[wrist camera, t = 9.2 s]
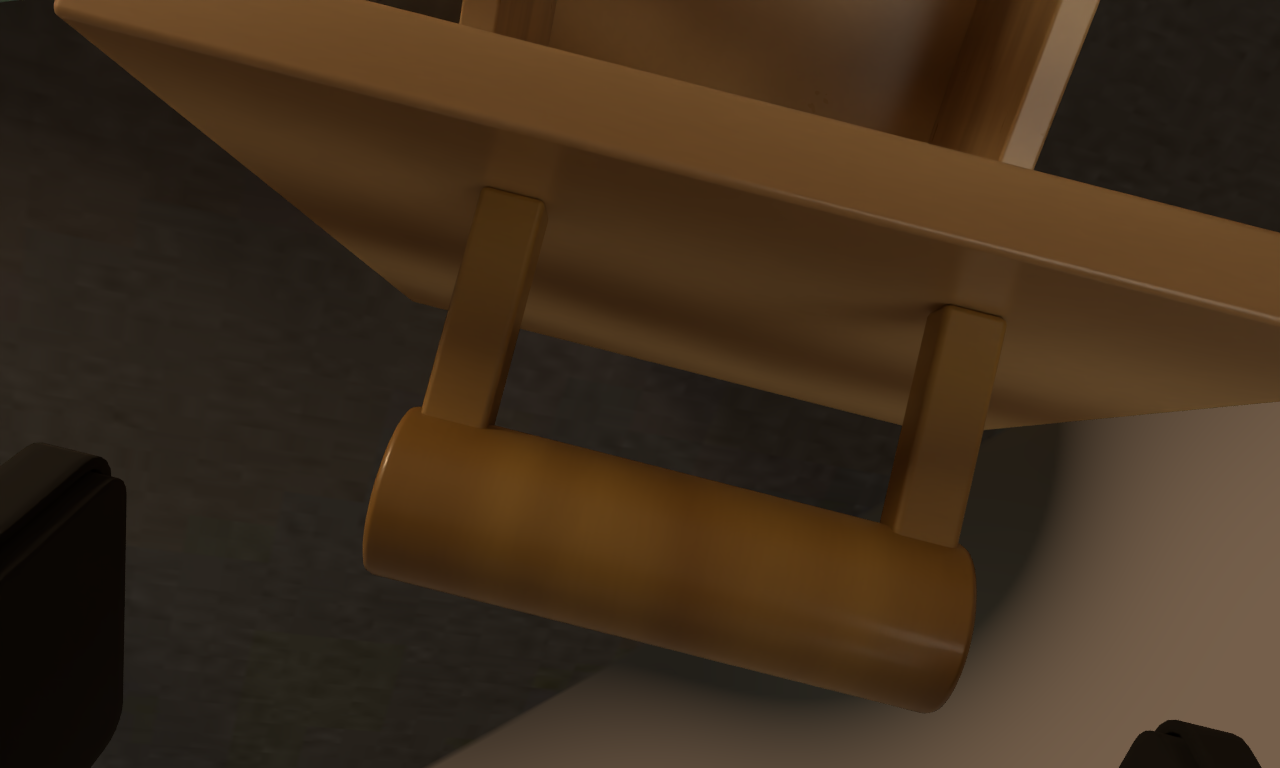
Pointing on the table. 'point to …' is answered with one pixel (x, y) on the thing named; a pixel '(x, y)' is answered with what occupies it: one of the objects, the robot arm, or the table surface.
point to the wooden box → (840, 57)
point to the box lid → (702, 317)
